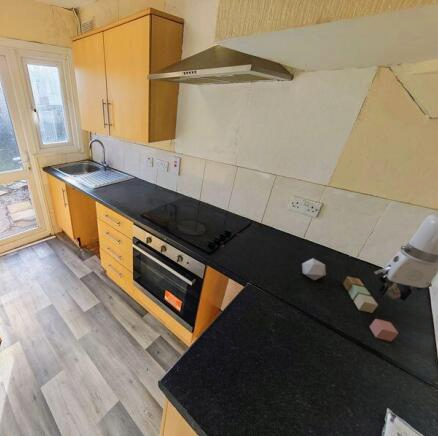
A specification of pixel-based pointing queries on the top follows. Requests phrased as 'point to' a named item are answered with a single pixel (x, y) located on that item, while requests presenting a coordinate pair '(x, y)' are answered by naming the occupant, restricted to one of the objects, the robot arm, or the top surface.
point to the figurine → (393, 292)
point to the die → (313, 269)
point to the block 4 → (383, 330)
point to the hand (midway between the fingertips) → (390, 294)
